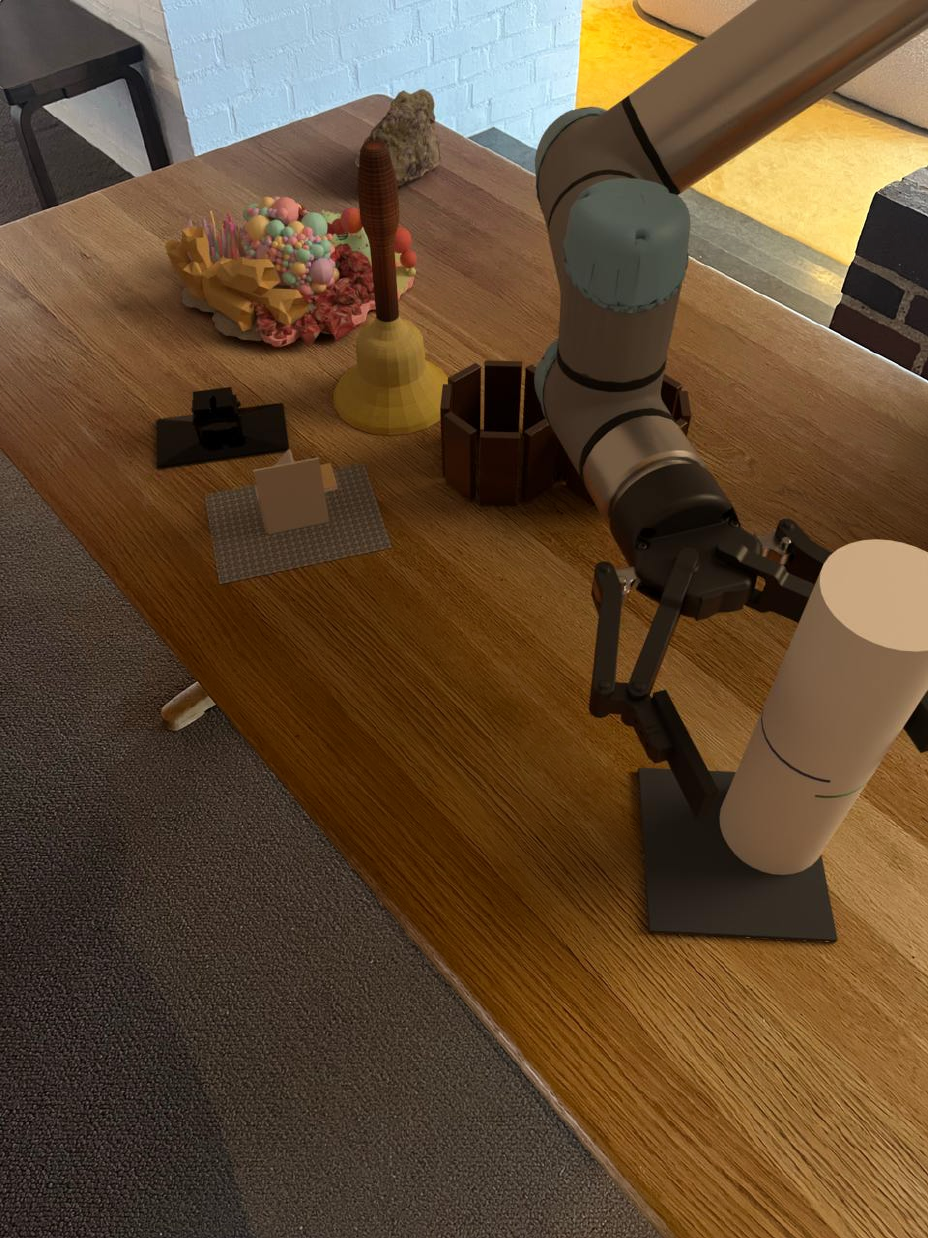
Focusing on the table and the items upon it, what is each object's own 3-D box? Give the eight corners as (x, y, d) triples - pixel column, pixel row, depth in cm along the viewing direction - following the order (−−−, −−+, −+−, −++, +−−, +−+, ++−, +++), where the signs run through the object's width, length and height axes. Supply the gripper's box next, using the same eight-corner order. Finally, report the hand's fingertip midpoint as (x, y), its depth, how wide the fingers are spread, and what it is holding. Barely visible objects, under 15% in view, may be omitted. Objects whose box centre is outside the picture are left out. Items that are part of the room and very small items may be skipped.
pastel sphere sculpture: (312, 377, 98) (299, 297, 91) (143, 308, 106) (119, 230, 99) (442, 263, 112) (440, 185, 104) (283, 209, 119) (271, 134, 112)
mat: (804, 778, 69) (806, 774, 69) (835, 943, 62) (838, 940, 61) (637, 770, 70) (638, 767, 69) (648, 933, 62) (649, 930, 62)
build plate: (157, 470, 90) (143, 432, 86) (157, 421, 95) (144, 382, 91) (289, 451, 91) (281, 412, 88) (283, 403, 96) (275, 364, 92)
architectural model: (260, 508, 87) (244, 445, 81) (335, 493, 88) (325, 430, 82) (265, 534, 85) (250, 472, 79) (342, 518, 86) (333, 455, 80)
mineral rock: (364, 204, 120) (356, 121, 112) (337, 166, 126) (328, 85, 119) (459, 183, 123) (458, 102, 115) (428, 147, 129) (425, 67, 122)
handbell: (456, 358, 100) (453, 110, 81) (452, 436, 93) (448, 183, 73) (339, 356, 101) (307, 109, 81) (325, 434, 93) (287, 182, 73)
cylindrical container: (731, 767, 69) (831, 524, 50) (832, 799, 67) (976, 561, 48) (709, 853, 65) (808, 625, 45) (816, 890, 63) (967, 669, 44)
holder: (669, 434, 93) (684, 365, 86) (679, 512, 86) (695, 443, 80) (447, 427, 93) (445, 358, 87) (439, 503, 87) (437, 435, 81)
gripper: (811, 502, 69) (996, 747, 56) (479, 580, 64) (597, 866, 52) (843, 420, 63) (1057, 673, 50) (480, 500, 58) (614, 799, 46)
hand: (824, 772), depth 51 cm, fingers open, 13 cm apart
